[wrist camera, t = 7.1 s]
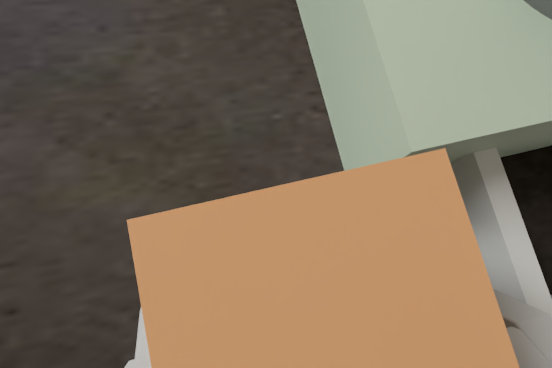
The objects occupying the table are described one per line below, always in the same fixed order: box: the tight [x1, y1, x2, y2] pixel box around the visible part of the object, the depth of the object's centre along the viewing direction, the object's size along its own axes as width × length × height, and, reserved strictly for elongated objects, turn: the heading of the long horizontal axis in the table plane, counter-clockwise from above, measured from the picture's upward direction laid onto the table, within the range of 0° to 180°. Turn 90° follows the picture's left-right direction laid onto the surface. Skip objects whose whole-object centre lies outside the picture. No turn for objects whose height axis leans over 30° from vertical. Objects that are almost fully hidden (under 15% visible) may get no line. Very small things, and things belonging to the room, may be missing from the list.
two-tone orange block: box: [127, 148, 520, 368], centre depth 11 cm, size 5×5×12 cm
